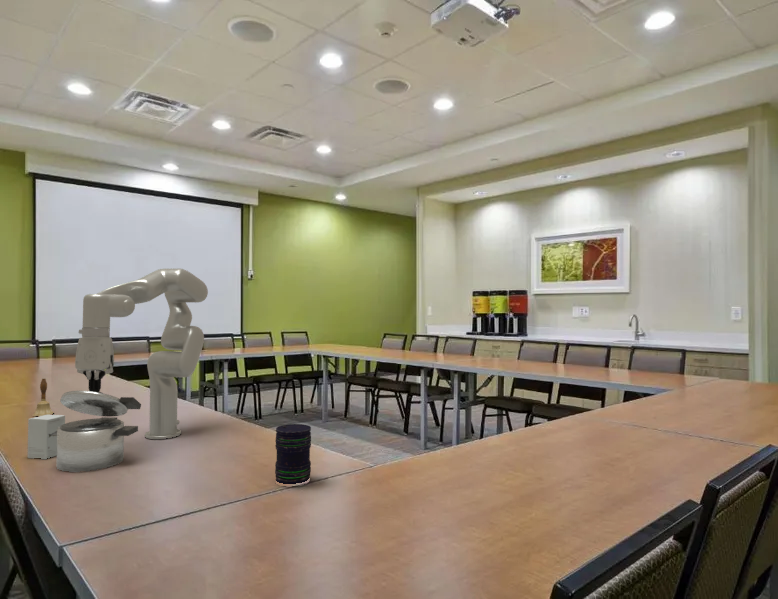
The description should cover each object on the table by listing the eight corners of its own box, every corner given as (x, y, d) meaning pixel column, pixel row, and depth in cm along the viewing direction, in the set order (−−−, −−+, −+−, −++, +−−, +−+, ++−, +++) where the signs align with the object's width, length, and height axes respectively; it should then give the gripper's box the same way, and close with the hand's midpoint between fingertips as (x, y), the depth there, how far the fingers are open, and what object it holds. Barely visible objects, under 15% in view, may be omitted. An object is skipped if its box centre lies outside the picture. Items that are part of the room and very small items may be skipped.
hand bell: (27, 416, 226) (27, 379, 226) (44, 412, 234) (45, 377, 234) (41, 417, 224) (42, 380, 224) (59, 413, 231) (59, 378, 232)
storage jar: (316, 478, 148) (317, 425, 148) (300, 489, 139) (300, 433, 139) (286, 474, 152) (286, 422, 152) (267, 484, 142) (268, 430, 142)
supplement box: (46, 459, 163) (47, 419, 163) (26, 458, 165) (27, 418, 165) (65, 453, 170) (66, 414, 171) (46, 451, 172) (46, 413, 172)
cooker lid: (79, 416, 170) (83, 404, 172) (147, 416, 170) (151, 404, 172) (47, 394, 154) (52, 381, 156) (122, 394, 154) (126, 381, 156)
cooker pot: (81, 453, 171) (82, 416, 171) (148, 453, 171) (148, 417, 171) (42, 471, 152) (43, 430, 152) (117, 472, 151) (118, 431, 152)
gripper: (64, 333, 159) (63, 393, 159) (113, 334, 159) (111, 394, 158) (79, 332, 167) (78, 390, 166) (126, 333, 166) (124, 390, 166)
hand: (94, 391), depth 162 cm, fingers closed
